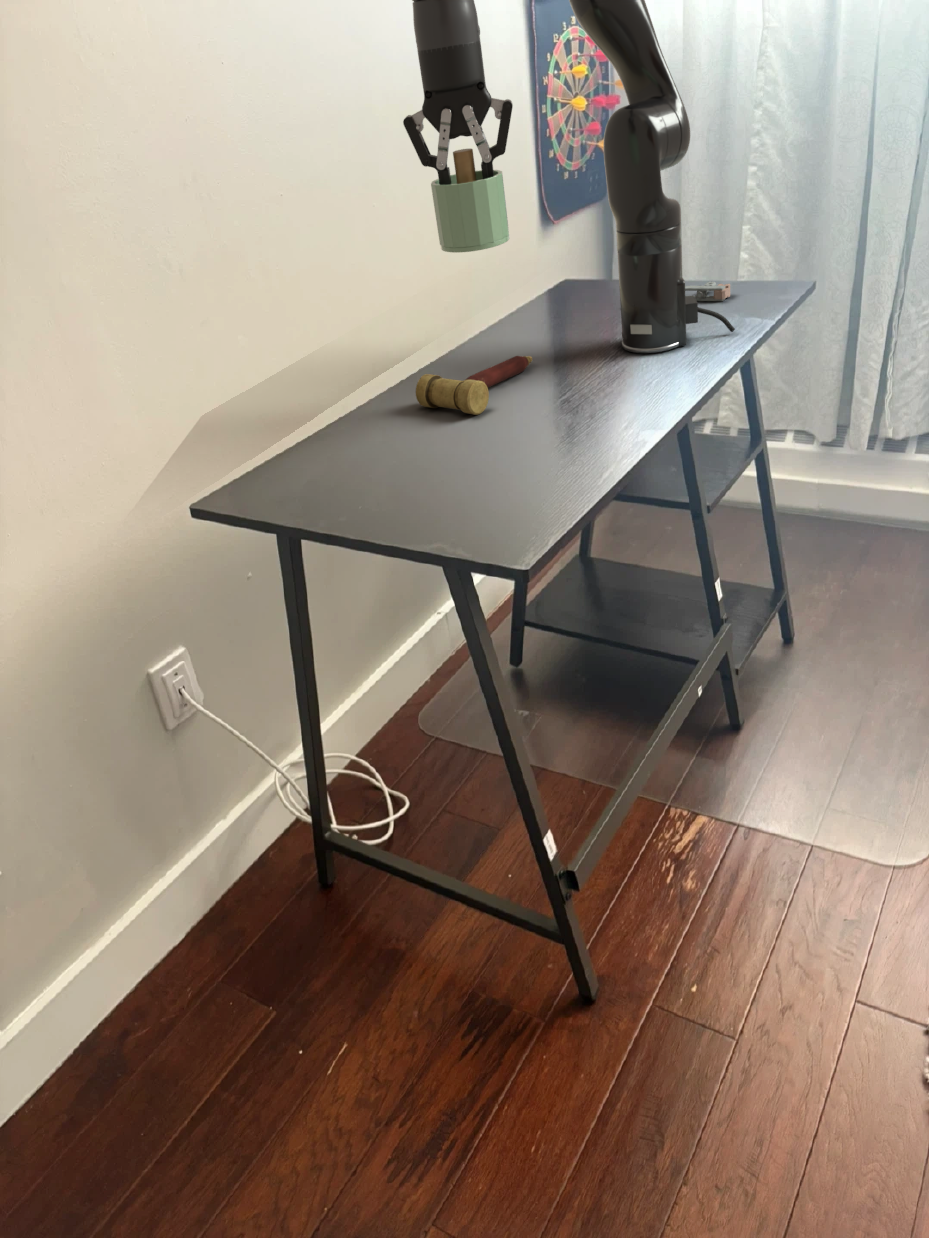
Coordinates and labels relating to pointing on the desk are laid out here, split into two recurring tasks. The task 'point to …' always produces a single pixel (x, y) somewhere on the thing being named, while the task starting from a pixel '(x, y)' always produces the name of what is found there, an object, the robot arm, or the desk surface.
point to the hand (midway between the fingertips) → (469, 196)
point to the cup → (471, 213)
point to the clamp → (719, 290)
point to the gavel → (467, 387)
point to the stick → (464, 165)
